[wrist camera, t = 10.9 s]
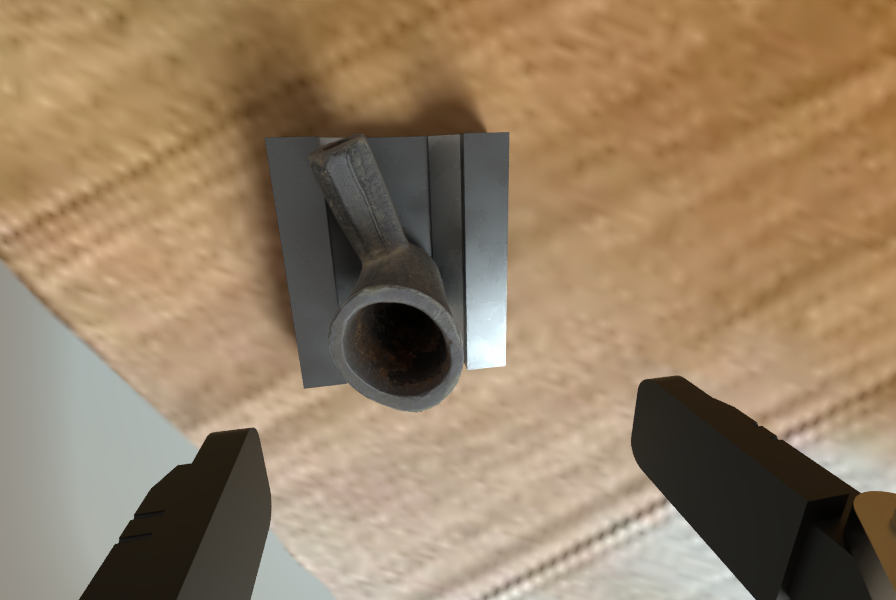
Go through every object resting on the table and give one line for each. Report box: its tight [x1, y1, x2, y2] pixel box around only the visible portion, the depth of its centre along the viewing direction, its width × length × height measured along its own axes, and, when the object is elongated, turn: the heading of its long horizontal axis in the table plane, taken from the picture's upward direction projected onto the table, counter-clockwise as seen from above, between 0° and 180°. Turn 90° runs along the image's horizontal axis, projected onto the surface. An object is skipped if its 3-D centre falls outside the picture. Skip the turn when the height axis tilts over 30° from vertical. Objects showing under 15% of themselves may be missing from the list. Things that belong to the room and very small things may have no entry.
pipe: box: [309, 133, 464, 412], centre depth 22 cm, size 6×13×8 cm, turn 20°
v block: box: [265, 132, 509, 388], centre depth 26 cm, size 14×12×4 cm
